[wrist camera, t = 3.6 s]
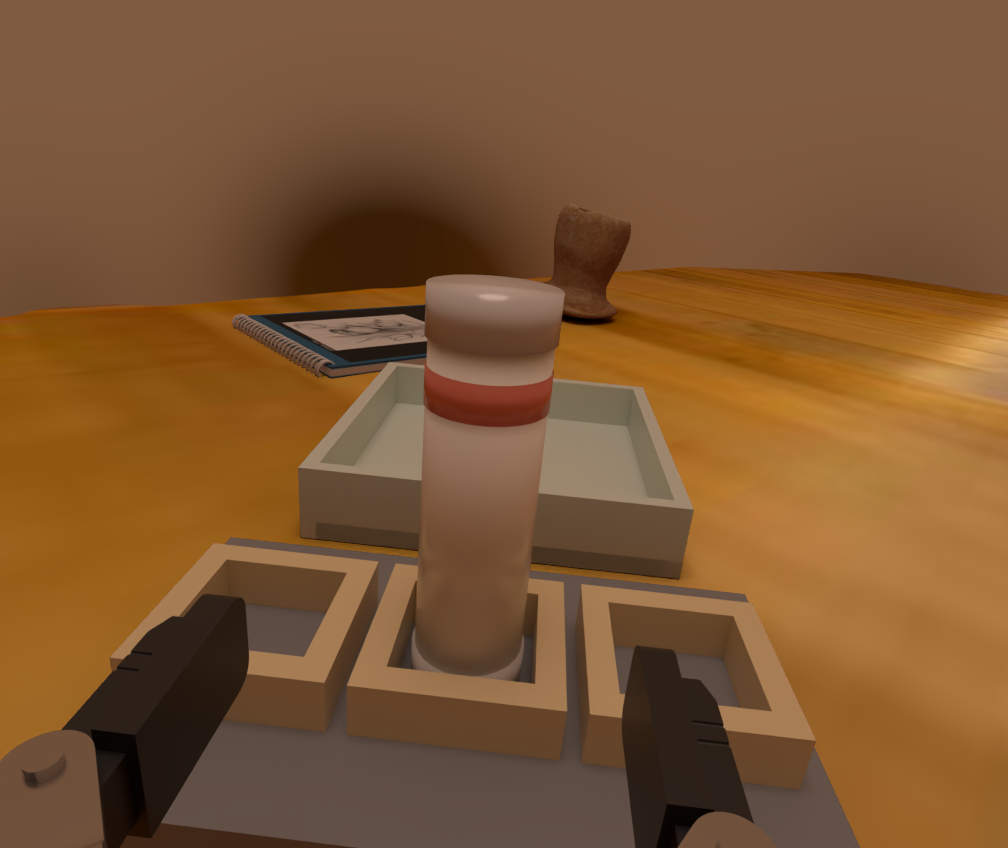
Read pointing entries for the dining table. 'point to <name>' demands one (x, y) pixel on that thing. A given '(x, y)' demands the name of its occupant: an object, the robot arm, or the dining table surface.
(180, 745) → the robot arm
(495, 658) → the fuse
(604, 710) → the block
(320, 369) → the sketchbook
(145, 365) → the dining table surface
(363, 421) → the parts tray
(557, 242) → the stone cup
